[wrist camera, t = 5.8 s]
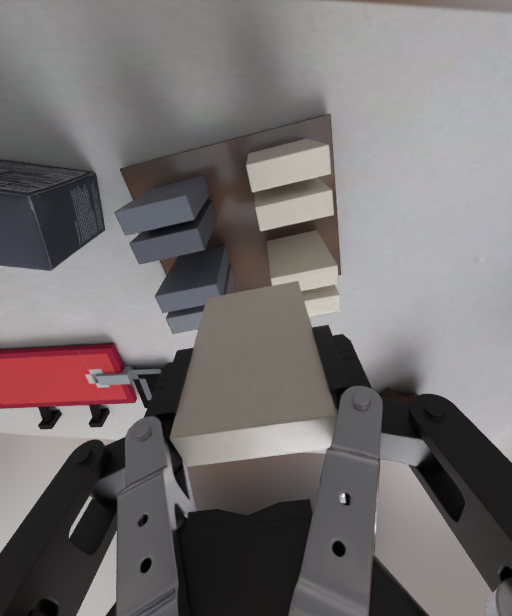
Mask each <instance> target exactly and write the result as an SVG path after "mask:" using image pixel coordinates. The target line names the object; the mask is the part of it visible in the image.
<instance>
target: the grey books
mask: <svg viewBox="0 0 512 616" xmlns="http://www.w3.org/2000/svg"><path fill="white" fill-rule="evenodd" d="M209 195H210V192H209V189H208V185H207V182H206V178H205V176H200V177H196V178H192V179H188V180H184V181H180V182H176V183H172V184H168V185H164V186H160V187H156V188H152V189H150V190H149V191H147V192H146V193H144V194H142V195H141V196H139V197H138V198H136V199H134V200H133V201H131V202H130V203H128V204H126V205H125V206H123V207H122V208H120V209H118V210H117V211H115V212H114V213H115V215H116V217H117V219H118V221H119V223H120V225H121V227H122V230H123V232H124V234H125V235H131V234H135V233H139V232H141V233H140V234H139V235H138V236H137V237H136V238H135V239H134V240H132V241H131V242H130V243H129V244H130V246H131V248H132V250H133V253H134V255H135V257H136V259H137V261H138V263H139V264H143V263H148V262H153V261H157V260H162V259H166V258H171V257H175V256H178V257H177V259H176V260H175V262H174V264H173V266H172V267H171V269H170V271H169V272H168V274H167V276H166V278H165V279H164V281H163V283H162V285H161V286H160V288H159V290H158V292H157V293H156V295H155V298H156V300H157V302H158V304H159V306H160V308H161V310H162V313H166V312H169V313H168V315H167V317H166V321H167V323H168V325H169V327H170V329H171V331H172V333H173V334H175V333H180V332H185V331H191V330H196V329H199V326H200V322H201V318H202V314H203V311H204V307H205V303H206V300H207V298H210V297H216V296H221V295H226V294H231V293H233V289H234V281H235V277H234V274H233V270H232V267H231V265H229V257H228V253H227V250H226V246H220V247H216V248H211V249H207V250H205V248H206V245H207V243H208V240H209V238H210V235H211V233H212V230H213V227H214V225H215V222H216V220H217V216H216V212H215V209H214V205H213V202H212V201H209V202H206V200H207V199H208V197H209ZM228 265H229V266H228Z"/></svg>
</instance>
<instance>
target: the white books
mask: <svg viewBox="0 0 512 616" xmlns="http://www.w3.org/2000/svg"><path fill="white" fill-rule="evenodd" d="M246 168H247V173H248V177H249V182H250V186H251V191H252V192H255V209H256V214H257V219H258V223H259V228H260V231H264V230H269V229H273V228H278V227H282V226H287V225H291V224H296V223H300V222H305V221H309V220H314V219H318V218H323V217H327V216H332V215H334V208H333V194H332V189H331V188H329V187H328V186H327V185H326V184H324V183H323V182H322V181H321V180H320V179H318V178H317V177H320V176H324V175H328V174H331V167H330V153H329V144H325V143H321V142H317V141H313V140H310V139H303V140H299V141H295V142H291V143H287V144H283V145H279V146H275V147H271V148H268V149H264V150H260V151H256V152H252V153H249V154H248V158H247V163H246ZM267 251H268V260H269V269H270V278H271V283H272V286H273V285H278V284H284V283H289V282H294V281H299V284H300V288H301V291H302V294H303V298H304V301H305V305H306V308H307V312H308V315H309V317H311V316H316V315H322V314H327V313H332V312H338V311H341V307H340V294H339V292H338V290H337V288H336V286H335V284H339V279H338V265H337V264H336V262H335V260H334V259H333V257H332V255H331V254H330V252H329V250H328V249H327V247H326V245H325V244H324V242H323V240H322V238H321V237H320V235H319V233H318V232H317V230H315V231H311V232H306V233H301V234H297V235H292V236H287V237H283V238H278V239H274V240H269V241H267Z"/></svg>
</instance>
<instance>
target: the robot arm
mask: <svg viewBox="0 0 512 616" xmlns="http://www.w3.org/2000/svg"><path fill="white" fill-rule="evenodd" d="M312 330H313V334H314V337H315V341H316V344H317V348H318V351H319V355H320V358H321V362H322V365H323V369H324V372H325V376H326V379H327V383H328V386H329V390H330V393H331V395H332V398H333V402H334V405H335V409H336V412H337V419H336V424H335V428H334V433H333V438H332V443H331V446H330V447H328V449H327V451H326V455H325V459H324V465H323V469H322V473H321V478H320V483H319V488H318V492H317V497H316V502H315V506H314V509H312V506H311V502H310V499H307V500H297V501H288V502H279V503H276V504H274V505H272V506H269V507H267V508H265V509H262V510H260V511H257V512H255V513H253V514H250V515H242V514H237V513H233V512H228V511H223V510H219V509H213V510H204V511H197V509H196V506H195V503H194V499H193V494H192V490H191V485H190V480H189V476H188V471H187V467H186V464H185V462H184V461H183V459H182V457H181V456H180V454H179V453H178V451H177V450H176V448H175V447H174V445H173V444H172V442H171V441H170V434H171V430H172V426H173V423H174V419H175V416H176V413H177V410H178V406H179V402H180V398H181V394H182V391H183V387H184V383H185V379H186V376H187V372H188V368H189V364H190V361H191V357H192V353H193V349H194V348H189V349H183V350H178V351H177V352H176V355H175V358H174V361H173V362H171V363H168V364H167V365H166V366H165V368H164V369H163V370H162V371H161V373H160V376H159V379H158V383H157V384H156V387H155V390H154V392H153V395H152V397H151V400H150V403H149V405H148V408H147V411H146V413H145V416H144V418H142V419H140V420H139V421H137V422H136V423H135V424H133V426H132V427H131V428H130V429H129V430H128V432H127V434H126V437H124V438H122V439H120V440H117V441H115V442H113V443H111V444H109V445H106V446H105V445H104V444H103V443H102V442H101V441H100V440H90V441H87V442H86V443H83V444H82V445H80V446H79V447H78V448H76V449H75V450H74V451H73V453H72V454H71V455H70V456H69V458H68V459H67V460H66V462H65V463H64V465H63V466H62V467H61V469H60V470H59V472H58V473H57V474H56V476H55V477H54V479H53V480H52V481H51V483H50V484H49V486H48V487H47V488H46V490H45V491H44V493H43V494H42V495H41V497H40V498H39V500H38V501H37V502H36V504H35V505H34V507H33V508H32V509H31V511H30V512H29V514H28V515H27V516H26V518H25V519H24V521H23V522H22V523H21V525H20V526H19V528H18V529H17V530H16V532H15V533H14V535H13V536H12V537H11V539H10V540H9V542H8V543H7V545H6V546H5V547H4V549H3V550H2V552H1V553H0V616H76V614H77V613H78V611H79V609H80V606H81V604H82V602H83V600H84V598H85V596H86V594H87V592H88V589H89V587H90V585H91V583H92V581H93V579H94V577H95V575H96V573H97V571H98V568H99V566H100V564H101V562H102V560H103V558H104V556H105V554H106V552H107V550H108V548H109V545H110V543H111V541H112V539H113V537H114V535H115V533H116V531H117V579H116V580H117V583H116V585H117V586H116V602H115V604H114V605H113V607H112V608H111V609H110V611H109V612H108V613H107V615H106V616H429V615H428V614H427V613H426V612H425V611H424V610H423V608H422V607H421V606H420V605H419V604H418V603H417V602H416V600H415V599H414V598H413V597H412V596H411V595H410V594H409V593H408V592H407V591H406V589H405V588H404V587H403V586H402V585H401V584H400V583H399V582H398V581H397V579H396V578H395V577H394V576H393V575H392V574H391V573H390V572H389V571H388V569H387V568H386V567H385V566H384V565H383V564H382V563H381V562H380V561H379V560H378V559H377V557H376V556H375V540H376V523H377V505H378V488H379V473H380V459H384V460H389V461H394V462H399V463H403V464H408V465H409V467H410V468H411V470H412V471H413V473H414V474H415V476H416V477H417V479H418V480H419V482H420V483H421V485H422V486H423V488H424V489H425V491H426V492H427V494H428V495H429V497H430V498H431V500H432V501H433V503H434V504H435V506H436V507H437V509H438V510H439V512H440V513H441V515H442V516H443V518H444V519H445V521H446V522H447V524H448V526H449V527H450V529H451V530H452V531H453V533H454V534H455V536H456V538H457V539H458V541H459V542H460V544H461V545H462V547H463V548H464V549H465V551H466V553H467V554H468V556H469V557H470V559H471V560H472V562H473V563H474V565H475V566H476V568H477V569H478V571H479V572H480V574H481V575H482V577H483V578H484V580H485V581H486V583H487V584H488V586H489V588H490V589H491V591H492V592H493V593H492V594H491V596H490V597H489V599H488V600H487V604H486V611H485V613H486V616H512V463H511V462H510V461H509V460H508V459H507V458H506V457H505V456H504V455H503V454H502V453H501V451H499V449H498V448H497V447H496V446H495V445H494V444H493V443H492V442H491V441H490V440H489V439H488V438H487V437H486V436H485V435H484V434H483V433H482V432H481V431H480V430H479V429H478V428H477V427H476V426H475V425H474V424H473V423H472V422H471V421H470V420H469V419H468V418H467V417H466V416H465V415H464V414H463V413H462V412H461V411H460V410H459V409H458V408H457V407H456V406H455V405H454V404H453V403H452V402H451V401H449V400H448V399H446V398H444V397H441V396H438V395H434V394H421V395H418V396H416V397H415V398H414V399H413V400H412V401H411V403H410V402H403V401H395V400H390V399H387V398H385V397H382V396H381V395H379V394H378V393H377V392H376V391H374V390H373V388H372V387H371V385H370V383H369V381H368V379H367V376H366V374H365V372H364V370H363V367H362V365H361V363H360V361H359V359H358V356H357V354H356V352H355V350H354V347H353V345H352V343H351V341H350V340H349V339H348V338H347V337H345V336H344V335H343V334H340V335H334V336H332V333H331V331H330V328H329V326H328V325H325V326H319V327H313V328H312ZM89 496H91V497H92V498H93V499H92V500H91V502H90V503H89V505H88V507H87V509H86V510H85V512H84V514H83V516H82V517H81V519H80V521H79V523H78V524H77V526H76V528H75V529H74V531H73V533H72V535H71V536H70V538H69V532H70V529H71V526H72V525H73V523H74V521H75V519H76V518H77V516H78V514H79V513H80V511H81V509H82V508H83V506H84V504H85V502H86V501H87V499H88V497H89Z"/></svg>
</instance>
